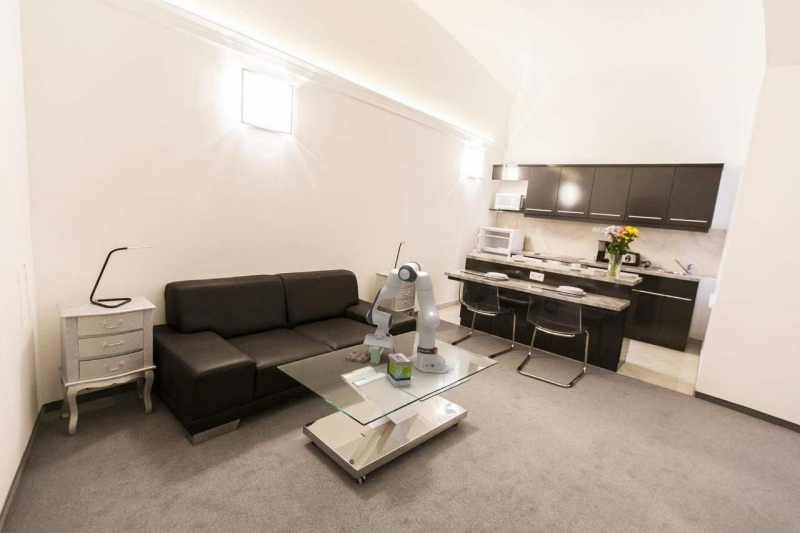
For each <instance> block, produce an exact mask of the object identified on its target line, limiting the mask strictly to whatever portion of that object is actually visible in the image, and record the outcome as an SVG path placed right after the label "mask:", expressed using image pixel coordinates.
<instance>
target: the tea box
mask: <svg viewBox="0 0 800 533" xmlns="http://www.w3.org/2000/svg"><path fill="white" fill-rule="evenodd" d="M412 368H413V361H412V360H411V359H410V358H409V357H408V356H407V355H405V354H404V353H402V352H401V353H398V352H397V353H388V354H387V364H386V378H387V379H388V381H389V382H390V383H391V384H392V385H393V386H394V387H396V388H398V387H399V388H400V387H408V386H411V378H412Z"/></svg>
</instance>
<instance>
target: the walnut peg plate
mask: <svg viewBox="0 0 800 533" xmlns="http://www.w3.org/2000/svg"><path fill="white" fill-rule="evenodd" d="M357 350H358V349H357V348H354V351H352V352H349V354H348V355H347V356H345V359H344V360H345V361H346V362H347V361H349V362H353V363H358V364H359V363H360V364H366V363H367V362H369V361H370V360H371V359H370V358H371V354H369V351H368V350H366V351H365V353H361V352H357ZM369 359H370V360H369Z"/></svg>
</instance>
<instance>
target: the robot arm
mask: <svg viewBox="0 0 800 533" xmlns="http://www.w3.org/2000/svg"><path fill="white" fill-rule="evenodd" d="M385 281H386V282H385V285H384V286H383V287H382V288H380V289H379V290H378V291H377V293H376V296H375V297H374V299H373V303H371V307H370V308H369V310H368V312H367V313H366V321H367V322H368V324H371V325H375V326H376V325H377V327H376V330H375V332H374V334H372V333H368V334H366V335H365V337H364V341H363V346H364V347H365V348H366V347H367V348H369V353H370V354H371V348H372V347H373V346H376V347H381V351H379V355H380V356H381V355H382V353H384V351H392V350H393V348H394V337H393V335H392V334H390V333H389V331H390V329H391V328H392V327H393V324H394V321H395V318H394V316H393V314H392V313H388V312H384V311H381V310H378V307H379V305H380V302H381V301H382V300H387V299H393V298H396V297H398V296H399V295H400V294H401V291H402V288H403V284H404V282H406V283H414V286H415V291H416V298H417V303H418V306H419V310H418V312H417V318H418V322H417V323H418V324H417V325H418V341H417V342H418V343H417V344H418V345H417V348H416V358H415V362H414V364H413V366H414V368H415V369H417V370H419V371H420V372H423V373H431V374H432V373H433V374H442V375H443V374H446V373H448V371H449V366H448V365H446V361H445V358H444V357H443V356H442V355H441V354H440V353H439V352H438V350H439V347H436V328H438V327H439V326H440V324H441V317H440V315H439V311H438V307H437V303H436V300H435V293H434V287H433V281H432V277H431V275H430V273H428V272H426V271H422V270H421V266H420V264H419V263H418V262H415V261H409V262H407V263H405V264H403V265H401V266H400V267H399V269H398V268H393V269H391V270H390V271H389V273H388V274H387V278H386V280H385Z"/></svg>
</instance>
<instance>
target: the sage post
mask: <svg viewBox="0 0 800 533" xmlns="http://www.w3.org/2000/svg"><path fill="white" fill-rule="evenodd" d="M381 350H382V349H381V347H376V346H373V347H372V348H371V353H370V355H371V359H370V360H369V361H370V362H369V363H371V364H377V365H378V364H379V363H380V362H381V355H379V351H381Z"/></svg>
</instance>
